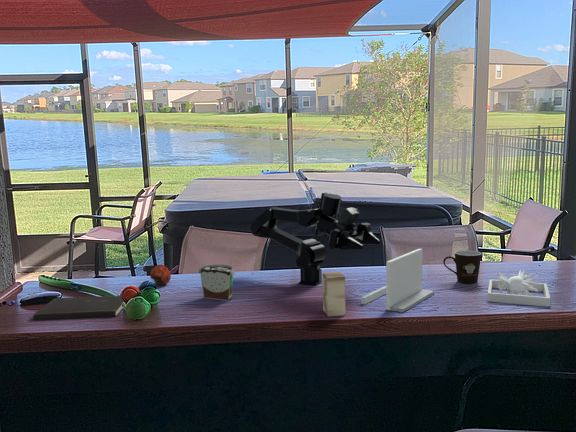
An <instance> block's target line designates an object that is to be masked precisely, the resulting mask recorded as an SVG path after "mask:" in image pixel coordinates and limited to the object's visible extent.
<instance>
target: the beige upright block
mask: <svg viewBox="0 0 576 432" xmlns="http://www.w3.org/2000/svg"><path fill="white" fill-rule="evenodd" d="M322 307H323V308H322V311H323V312H324V313H325V314H326V315H327V317H337V316H338V317H339V316H346V276H345V275H344V274H343V273H341V272H340V271H329V272H328V271H327V272H322Z"/></svg>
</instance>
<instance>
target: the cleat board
mask: <svg viewBox="0 0 576 432" xmlns="http://www.w3.org/2000/svg"><path fill="white" fill-rule="evenodd" d="M385 267H386V269H385V270H386V273H385V274H386V277H385V278H386V280H385V281H386V283H385V285H384V286H382V287H380V288H377V289H375V290H374V291H372V292H369V293H368V294H365V295H363V296H361V298H360V300H361V301H360V303H361V305H367V304H369V303H370V302H372V301H375V300H377V299H378V298H380V297H383V296H384V295H386V299H385V301H386V303H385V304H386V305H385V306H386V307H385V308H386V310H387V311H392V312H397V311H398V312H397V313H402V312H403V313H405V312H407V311H409V310H410V309H412V308H414V307H415V306H417V305H419V304H421V303H422V302H423V301H425V300H426V299H427V300H428V299H429V298H430V297H431V296H433V295H435V290H429V289H424V288H423V248H416V249H414V250H413V251H409V252H407V253H405V254H402V255H400V256H397V257H394V258H392V259H389V260H388V261H386V265H385ZM406 310H407V311H406ZM404 311H405V312H404Z"/></svg>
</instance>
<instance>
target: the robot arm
mask: <svg viewBox="0 0 576 432" xmlns="http://www.w3.org/2000/svg"><path fill="white" fill-rule="evenodd" d="M341 200H342V196H341V195H339V194H335V193H328V192H321V195H320V203H319V207H317V208H310V209H303V210H299V209H292V208H290V209H289V208H285V207H284V208H283V207H277V206H274V207H273V206H272V207H267V208H266V209H265V210H264V211H263V213H261V214H260V215H259V216H257V217H256V218H255V220H253V221H252V222H251V225H250V232H251V234H252V236H255V237H259V238H265V239H270V240H273V241H275V242H276V243H278V244H279V245H282V246H283V247H286V248H288V249H289V250H291V251H293V252H296V254H297V255H298V257H297V258H296V260H295V263H296V266H297V267H299V271H300V281H298V284H299V285H309V286H310V285H312V286H317V285H318V284H320V283H321V282H323V271H322V268H321V265H322V264H324V261H325V258H326V257H327V250H326V247H325V245H323V244H322V242H321V241H318V240H317V239H314V238H308V239H304V240H303V239H301V238H299V237H297V236H295V235H293V234H291V233H289V232H287V231H284V230H283V229H280V228H279V227H278V226H277V224H278V220H281V221H286V222H287V221H288V222H294V223H296V224H298V225H300V226H302V227H303V228H310V227H314V226H315V228H314V234H315V237H318V236H324V234H325V235H328V236H329V239H328V243H327V245H328V247H329V249H331V250H333V251H335V250H338V251H341V250H364V244H365V245H378V246H379V245H381V240H380V239H379V238H378V237H376V235H375V234H374V233H373V232H372V231H371V230H372V224H371V223H369V222H362V223H359V224H358V225H357V227H356V226H355V225H356V223H355V221H356V219H357V218H359V216H360V211H359V209H358V208H355V207H352V206H351V207H347V208H346V207H345V208H344V209H343V211H342V213H341V214H340V216H339V217H338V219H336V218H334V217H335V215H338V214H339V210H340V206H341V202H342V201H341ZM354 228H356V231H355V229H354Z"/></svg>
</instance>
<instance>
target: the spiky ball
mask: <svg viewBox="0 0 576 432" xmlns="http://www.w3.org/2000/svg"><path fill="white" fill-rule="evenodd" d="M533 274H534V272H531V273H529V274H527V273H526V274H525V269H523V271H522V269H520V270H519V272H518V275H514V276H511V277H510V278H508V277H507V276H505V275H503V274H502V273H500V272H499V271H498V272H497V274H495V276H496V277H497V278H498V279H497V280H500V281H501V283H502V286H501V285H499V284H498V287H499V288H498V289H499V291H500V293H501V294H503V292H502V291H504V290H507V291H506V294H514V295H518V294H520V293H521V295H526V294H527V295H526V296H533V295H532V294H531V293H530V291H527V290H526V289H530V290H534V291H533V292H535V293H538V291H536V290H538V289H535V288H532V287H533V286H531V285H529V284H528V283H534V281H532V280H534V279H535V278H537V277H538V276H539V275H538V274H535V275H533ZM532 275H533V276H532ZM504 285H505V287H504V288H503V286H504ZM506 287H507V289H506Z"/></svg>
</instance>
